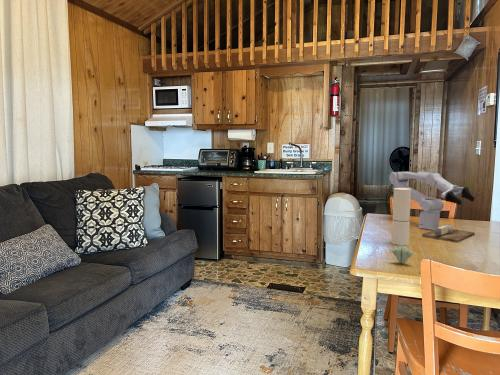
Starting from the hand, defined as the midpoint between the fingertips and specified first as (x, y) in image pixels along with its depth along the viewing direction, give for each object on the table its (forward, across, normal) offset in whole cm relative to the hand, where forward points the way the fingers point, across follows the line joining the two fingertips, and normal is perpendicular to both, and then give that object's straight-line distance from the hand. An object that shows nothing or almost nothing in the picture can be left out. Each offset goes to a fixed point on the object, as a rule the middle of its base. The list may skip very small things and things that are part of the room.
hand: (467, 201), depth 184 cm
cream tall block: (+5, -40, +9) cm, 42 cm away
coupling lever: (+3, -13, +14) cm, 19 cm away
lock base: (+3, -9, +16) cm, 19 cm away
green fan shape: (+27, -59, -4) cm, 65 cm away
